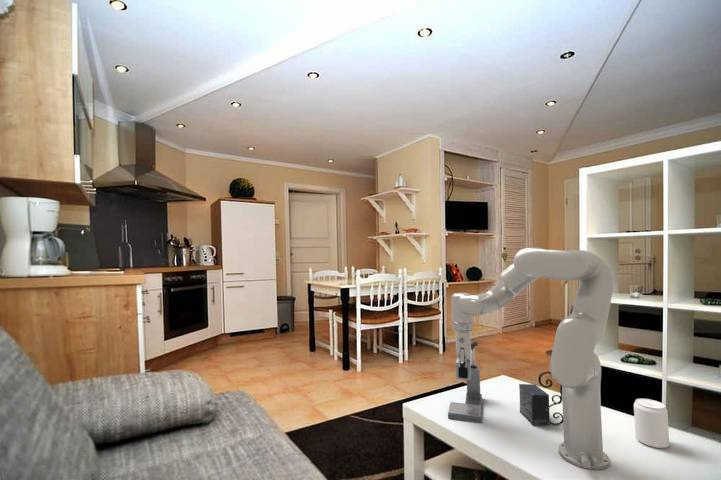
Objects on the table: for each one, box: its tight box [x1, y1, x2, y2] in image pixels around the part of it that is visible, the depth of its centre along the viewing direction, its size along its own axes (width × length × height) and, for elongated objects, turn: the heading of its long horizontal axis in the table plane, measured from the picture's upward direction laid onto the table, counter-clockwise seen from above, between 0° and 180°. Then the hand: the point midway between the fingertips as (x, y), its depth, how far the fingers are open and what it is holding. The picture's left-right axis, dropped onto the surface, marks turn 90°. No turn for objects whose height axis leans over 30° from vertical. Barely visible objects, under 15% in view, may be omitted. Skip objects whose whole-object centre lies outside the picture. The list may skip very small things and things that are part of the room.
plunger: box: [470, 340, 479, 368], centre depth 143 cm, size 5×5×13 cm
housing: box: [455, 358, 471, 381], centre depth 131 cm, size 5×5×7 cm
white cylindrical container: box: [633, 398, 670, 449], centre depth 109 cm, size 8×8×12 cm
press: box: [447, 364, 483, 424], centre depth 136 cm, size 22×12×13 cm, turn 161°
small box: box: [518, 383, 551, 426], centre depth 126 cm, size 11×6×10 cm, turn 179°
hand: (463, 374), depth 131 cm, fingers closed on housing, 5 cm apart
